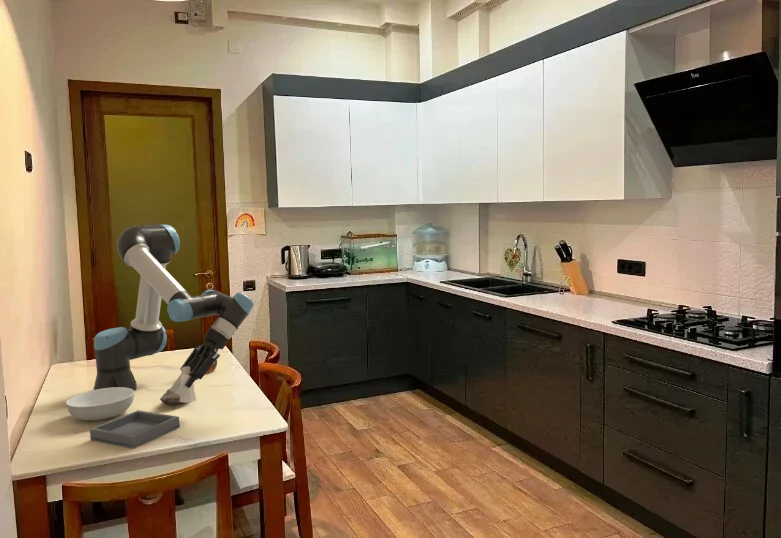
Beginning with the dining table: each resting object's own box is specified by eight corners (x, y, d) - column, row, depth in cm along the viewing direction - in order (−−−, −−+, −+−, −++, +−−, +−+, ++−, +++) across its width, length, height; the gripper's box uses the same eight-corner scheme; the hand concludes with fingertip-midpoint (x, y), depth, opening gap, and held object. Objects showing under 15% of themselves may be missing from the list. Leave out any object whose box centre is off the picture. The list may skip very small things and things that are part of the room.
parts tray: (90, 440, 188) (89, 429, 188) (138, 420, 204) (137, 410, 204) (133, 448, 180) (132, 437, 180) (179, 427, 196) (179, 416, 196)
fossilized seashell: (198, 396, 222) (189, 380, 220) (180, 415, 214) (170, 398, 211) (177, 398, 227) (168, 382, 225) (158, 417, 219) (148, 401, 216)
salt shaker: (183, 397, 207) (181, 365, 206) (199, 397, 207) (197, 365, 205) (176, 402, 202) (174, 369, 201) (192, 403, 201) (190, 369, 200)
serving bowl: (104, 403, 224) (102, 384, 223) (149, 409, 216) (147, 389, 215) (52, 423, 205) (50, 403, 204) (100, 430, 197) (98, 409, 196)
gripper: (240, 344, 207) (196, 405, 197) (215, 336, 219) (173, 393, 209) (224, 331, 202) (179, 392, 193) (200, 324, 215) (156, 382, 205)
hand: (176, 393), depth 201 cm, fingers closed on salt shaker, 4 cm apart
